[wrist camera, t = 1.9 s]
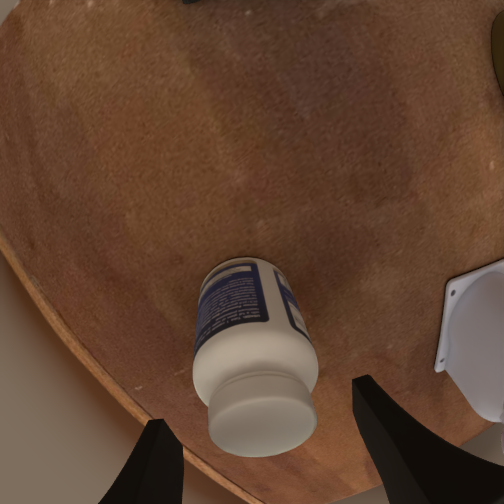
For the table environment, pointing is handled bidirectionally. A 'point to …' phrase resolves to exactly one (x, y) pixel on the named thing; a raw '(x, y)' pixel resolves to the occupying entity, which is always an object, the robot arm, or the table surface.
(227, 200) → the table surface
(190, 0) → the rifle cartridge clip
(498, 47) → the tin
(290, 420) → the pill bottle
